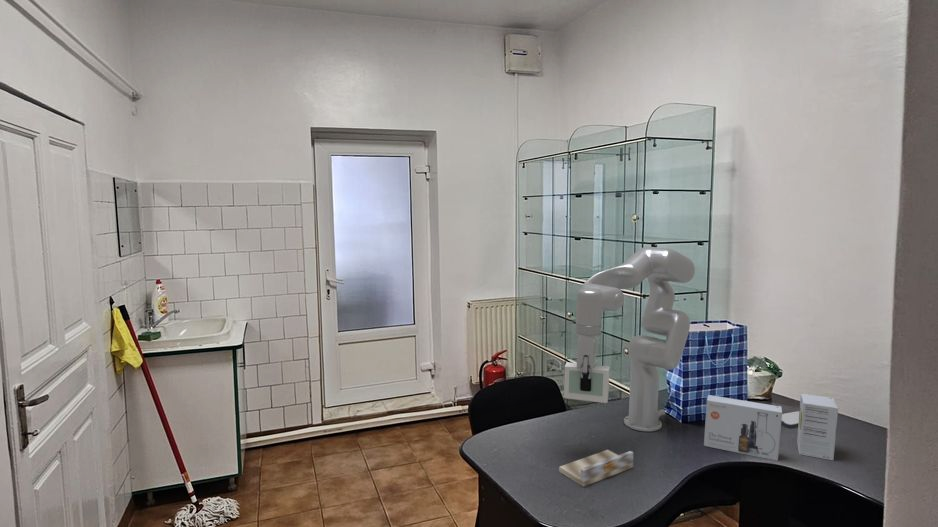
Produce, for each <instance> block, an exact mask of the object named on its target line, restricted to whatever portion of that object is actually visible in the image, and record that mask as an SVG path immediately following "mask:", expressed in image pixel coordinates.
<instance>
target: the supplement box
mask: <svg viewBox="0 0 938 527" xmlns="http://www.w3.org/2000/svg"><path fill="white" fill-rule="evenodd" d="M799 401H800V402H799V410H798V411H799V424H798V427H797V438H796V444H797V449H798V454H799V455H801V456H807V457H813V458H818V459H822V460H823V459H824V460H829V461H834V460H835V458H834V457H835V448H836V447H835V446H836V434H837V432H836V431H837V425H838V418H839V417H838V413H839V407H838V405H837V403H836V401H835V398H834V397H829V396H822V395H815V394H807V393H800V400H799Z"/></svg>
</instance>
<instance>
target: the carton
mask: <svg viewBox="0 0 938 527" xmlns="http://www.w3.org/2000/svg"><path fill="white" fill-rule="evenodd" d="M581 368H582V365H581V367H579V368H577V362H568V361H566V363H565V365H564V372H563V374H564V375H563V376H564V377H563V378H564V379H563V399H568V400H576V401H584V402H585V401H586V402H595V403H602V404H603V403H604V404H608V403H609V402H608V401H609V391H610V390H609V387H610V369H611V368H610V366H609V365H599V364H594V367H593V369H591V391H590V392H589V391H581V390H580V378H581ZM588 368H590V366H588ZM587 371H588V372H589V370H587Z"/></svg>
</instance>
